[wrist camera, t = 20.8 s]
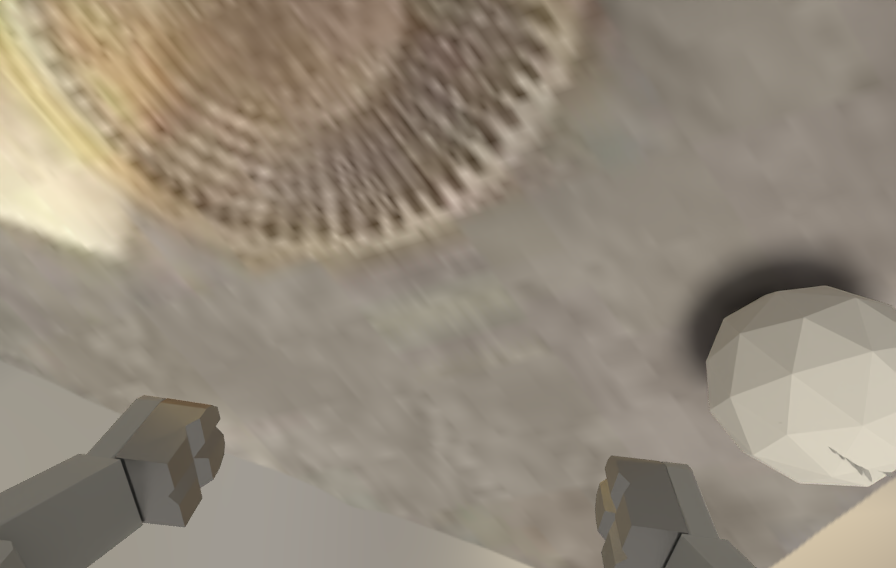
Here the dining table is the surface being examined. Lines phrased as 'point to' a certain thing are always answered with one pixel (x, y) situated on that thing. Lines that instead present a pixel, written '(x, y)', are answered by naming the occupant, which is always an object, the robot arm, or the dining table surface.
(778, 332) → the geodesic sphere
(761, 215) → the dining table surface
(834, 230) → the dining table surface
